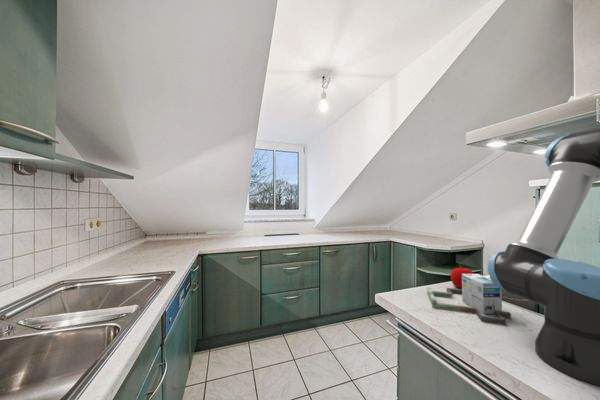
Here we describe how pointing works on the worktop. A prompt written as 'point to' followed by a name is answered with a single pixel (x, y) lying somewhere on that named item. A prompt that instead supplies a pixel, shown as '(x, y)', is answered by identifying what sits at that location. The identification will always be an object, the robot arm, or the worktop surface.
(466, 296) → the light bulb box
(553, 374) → the worktop surface
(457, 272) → the fruit
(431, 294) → the trap lane
